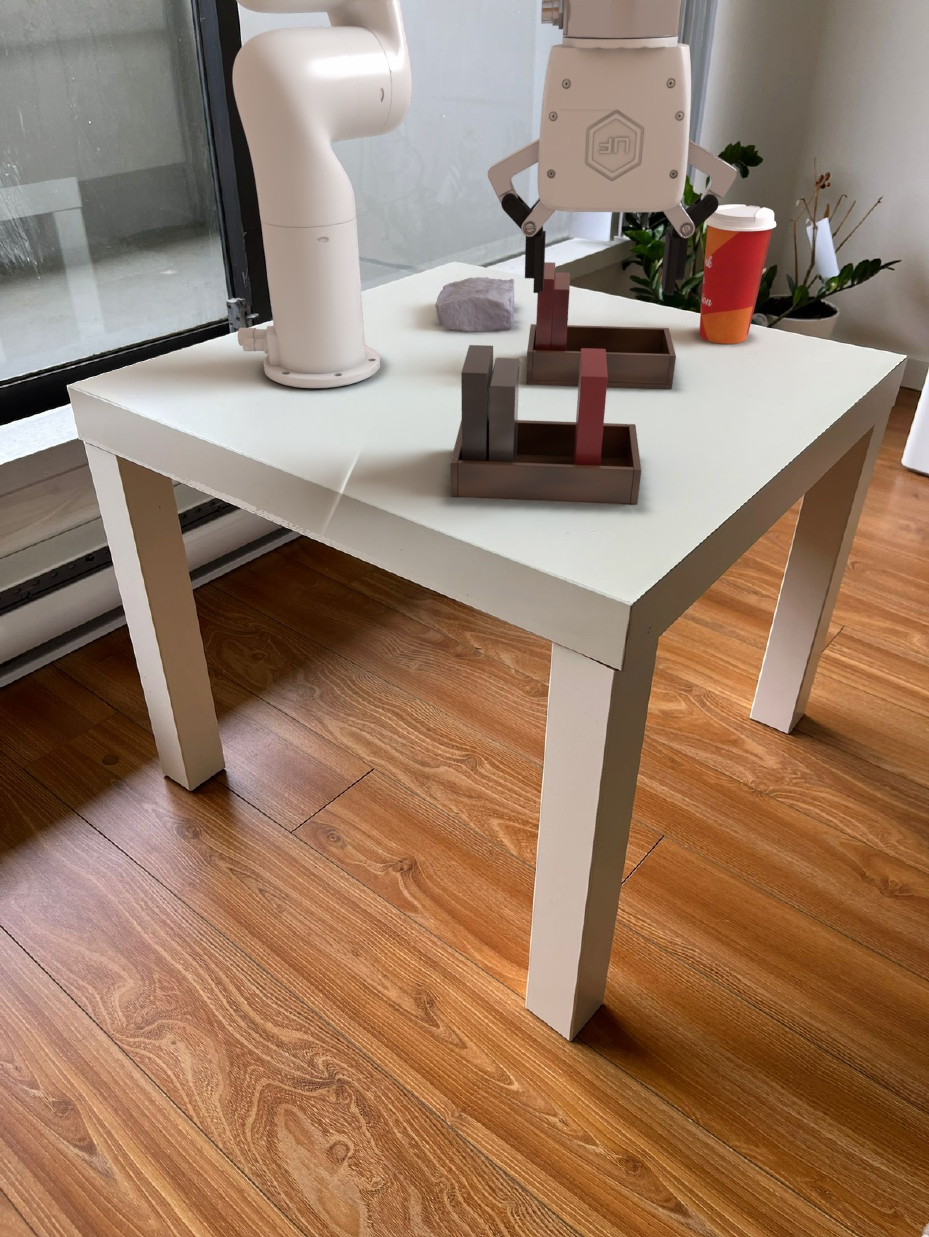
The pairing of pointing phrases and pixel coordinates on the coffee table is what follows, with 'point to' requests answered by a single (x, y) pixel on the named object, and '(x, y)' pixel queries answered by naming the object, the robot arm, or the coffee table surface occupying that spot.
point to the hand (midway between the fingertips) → (602, 289)
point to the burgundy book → (590, 407)
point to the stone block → (477, 304)
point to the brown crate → (531, 446)
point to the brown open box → (593, 345)
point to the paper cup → (733, 270)
